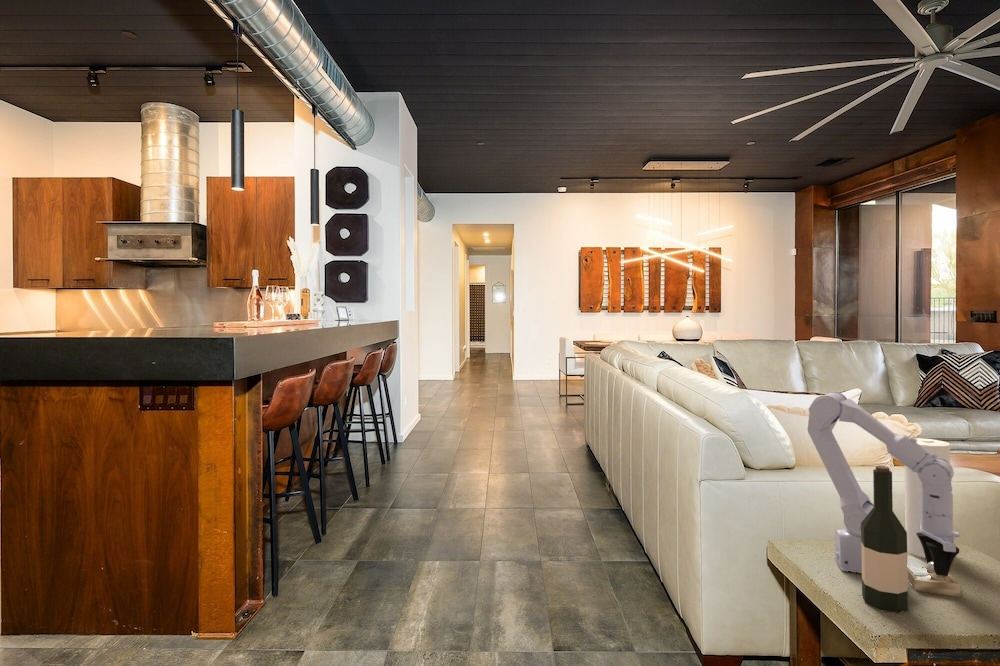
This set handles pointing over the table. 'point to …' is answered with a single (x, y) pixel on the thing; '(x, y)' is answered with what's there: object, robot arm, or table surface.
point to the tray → (935, 584)
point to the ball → (931, 571)
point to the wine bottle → (884, 550)
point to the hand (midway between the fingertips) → (937, 570)
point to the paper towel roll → (919, 495)
